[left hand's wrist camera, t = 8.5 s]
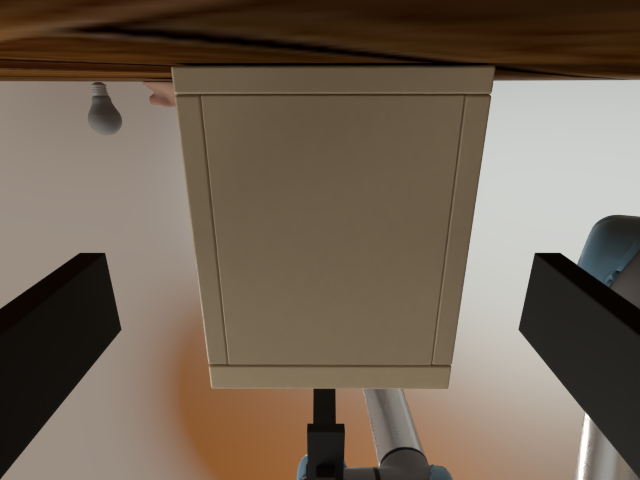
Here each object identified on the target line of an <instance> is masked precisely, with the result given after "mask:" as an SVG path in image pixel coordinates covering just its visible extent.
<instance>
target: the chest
mask: <svg viewBox="0 0 640 480" xmlns="http://www.w3.org/2000/svg"><path fill="white" fill-rule="evenodd" d="M171 71H172V78H173V86H174V92H175V94H177V95H176V96H175V102H176V110H177V118H178V126H179V134H180V142H181V150H182V158H183V165H184V174H185V181H186V189H187V197H188V205H189V213H190V221H191V229H192V237H193V245H194V253H195V261H196V269H197V277H198V285H199V292H200V300H201V308H202V316H203V324H204V332H205V340H206V348H207V356H208V362H209V364H227V363H229V364H301V365H431V363H432V364H442V365H450V364H452V358H453V352H454V345H455V338H456V331H457V325H458V318H459V311H460V304H461V297H462V291H463V284H464V277H465V270H466V264H467V257H468V250H469V243H470V236H471V230H472V223H473V216H474V209H475V202H476V196H477V189H478V182H479V175H480V169H481V162H482V155H483V148H484V141H485V135H486V128H487V121H488V114H489V108H490V101H491V96H490V95H489V94H491V92H492V87H493V80H494V73H495V66H493V65H252V66H172V68H171Z"/></svg>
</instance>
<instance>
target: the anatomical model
mask: <svg viewBox="0 0 640 480" xmlns="http://www.w3.org/2000/svg"><path fill="white" fill-rule="evenodd" d="M143 84H144V85H145V86H147V87H148V88H150V89H151V90H153V91H154V94H153V95H152V96H150V99H149V100H150V103H151V104H154V105H161V106H165V107H176V102H175V96H176V95H177V94H175V92H174V86H173V81H144V82H143Z"/></svg>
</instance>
